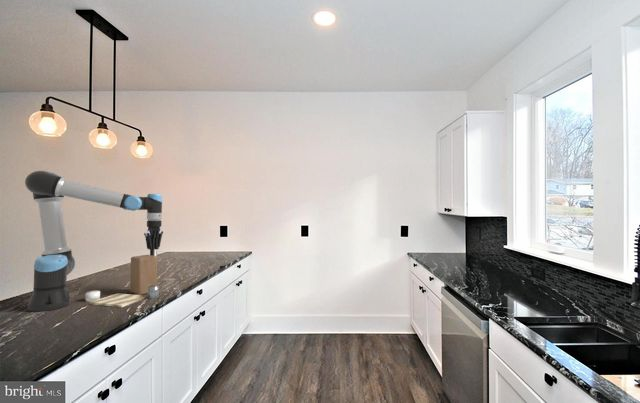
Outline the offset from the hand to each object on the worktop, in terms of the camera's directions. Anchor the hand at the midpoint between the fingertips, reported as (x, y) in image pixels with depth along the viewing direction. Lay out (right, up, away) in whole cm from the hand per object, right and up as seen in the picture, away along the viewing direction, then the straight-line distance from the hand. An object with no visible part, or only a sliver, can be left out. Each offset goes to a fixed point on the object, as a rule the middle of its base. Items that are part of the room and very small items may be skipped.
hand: (153, 260), depth 176 cm
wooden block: (-2, -17, -7) cm, 18 cm away
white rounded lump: (-19, -16, -22) cm, 33 cm away
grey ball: (+9, -17, -16) cm, 25 cm away
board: (-4, -16, -23) cm, 28 cm away
